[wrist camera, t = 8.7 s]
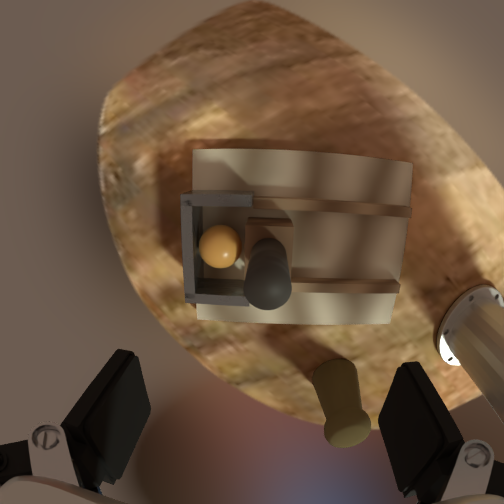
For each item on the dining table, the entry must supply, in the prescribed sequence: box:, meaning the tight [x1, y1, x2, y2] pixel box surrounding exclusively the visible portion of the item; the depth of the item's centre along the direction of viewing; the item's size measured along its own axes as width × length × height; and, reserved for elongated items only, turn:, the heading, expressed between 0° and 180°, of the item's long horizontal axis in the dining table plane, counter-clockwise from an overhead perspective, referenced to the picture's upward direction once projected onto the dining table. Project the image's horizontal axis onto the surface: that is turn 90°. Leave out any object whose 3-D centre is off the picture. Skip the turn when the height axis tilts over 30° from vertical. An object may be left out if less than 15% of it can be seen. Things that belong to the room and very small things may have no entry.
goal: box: [180, 190, 254, 307], centre depth 27 cm, size 6×10×4 cm, turn 179°
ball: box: [199, 225, 242, 268], centre depth 27 cm, size 4×4×4 cm
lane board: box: [192, 149, 413, 325], centre depth 29 cm, size 22×18×3 cm
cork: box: [312, 359, 371, 448], centre depth 30 cm, size 6×6×11 cm
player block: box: [243, 217, 294, 310], centre depth 23 cm, size 4×5×11 cm
